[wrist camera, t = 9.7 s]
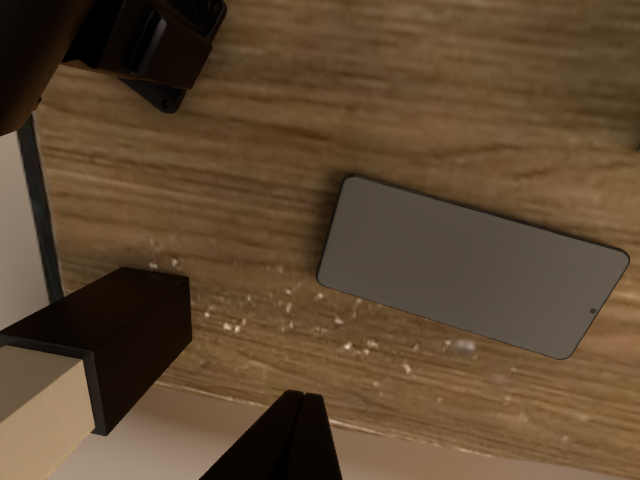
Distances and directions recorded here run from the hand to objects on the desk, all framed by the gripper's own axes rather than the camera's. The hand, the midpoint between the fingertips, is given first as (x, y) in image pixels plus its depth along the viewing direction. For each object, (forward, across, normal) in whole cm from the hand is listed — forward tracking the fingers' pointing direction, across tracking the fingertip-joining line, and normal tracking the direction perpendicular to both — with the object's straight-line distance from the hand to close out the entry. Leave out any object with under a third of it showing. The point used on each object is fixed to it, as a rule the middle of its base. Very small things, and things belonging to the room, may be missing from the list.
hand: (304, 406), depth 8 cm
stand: (+13, +13, +6) cm, 19 cm away
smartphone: (+12, -6, +1) cm, 14 cm away
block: (+5, +13, +6) cm, 15 cm away
